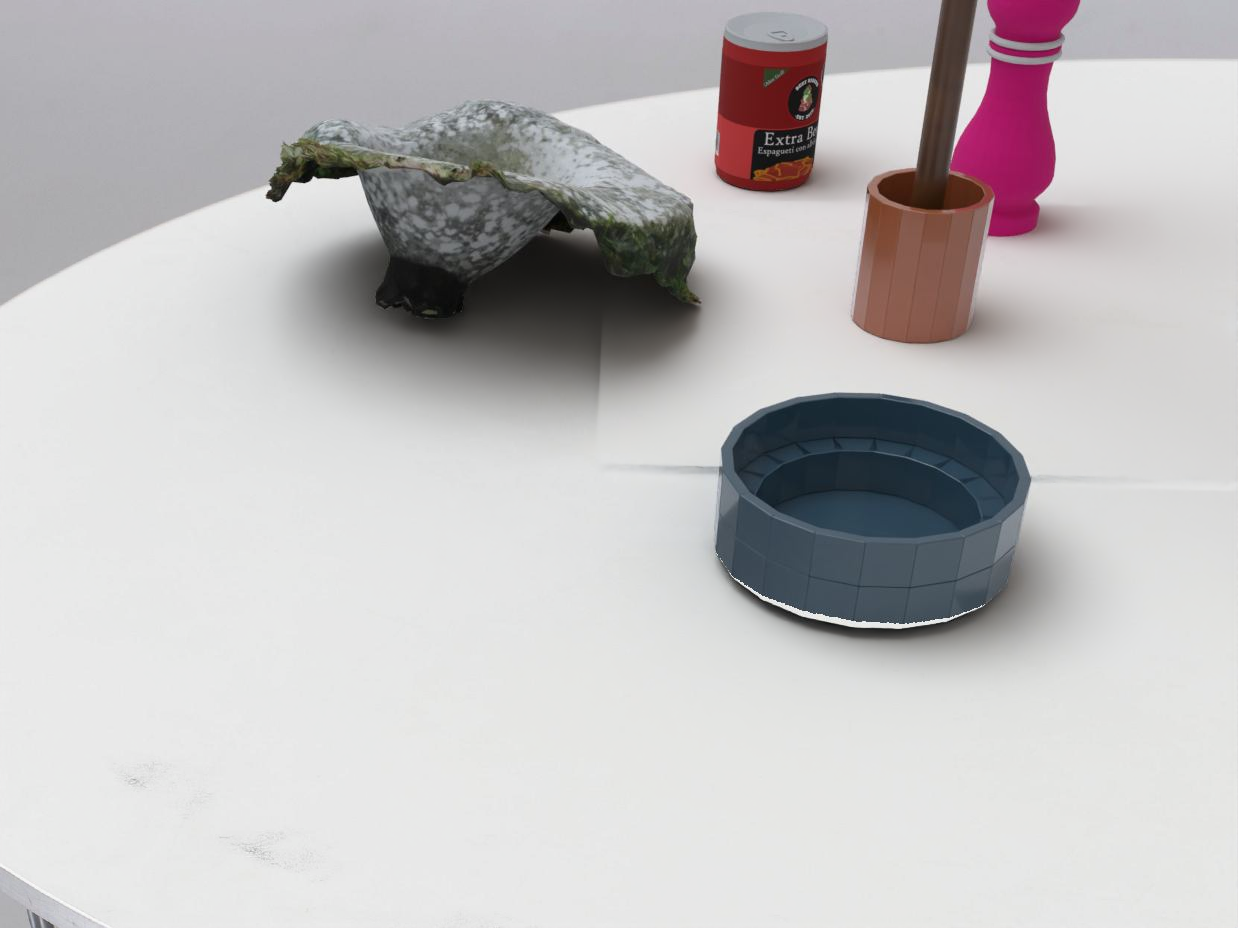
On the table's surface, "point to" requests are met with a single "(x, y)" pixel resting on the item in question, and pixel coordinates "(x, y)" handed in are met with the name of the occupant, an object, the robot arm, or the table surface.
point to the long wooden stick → (943, 103)
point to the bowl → (870, 507)
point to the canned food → (769, 99)
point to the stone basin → (493, 198)
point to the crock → (920, 259)
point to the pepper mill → (1016, 112)
